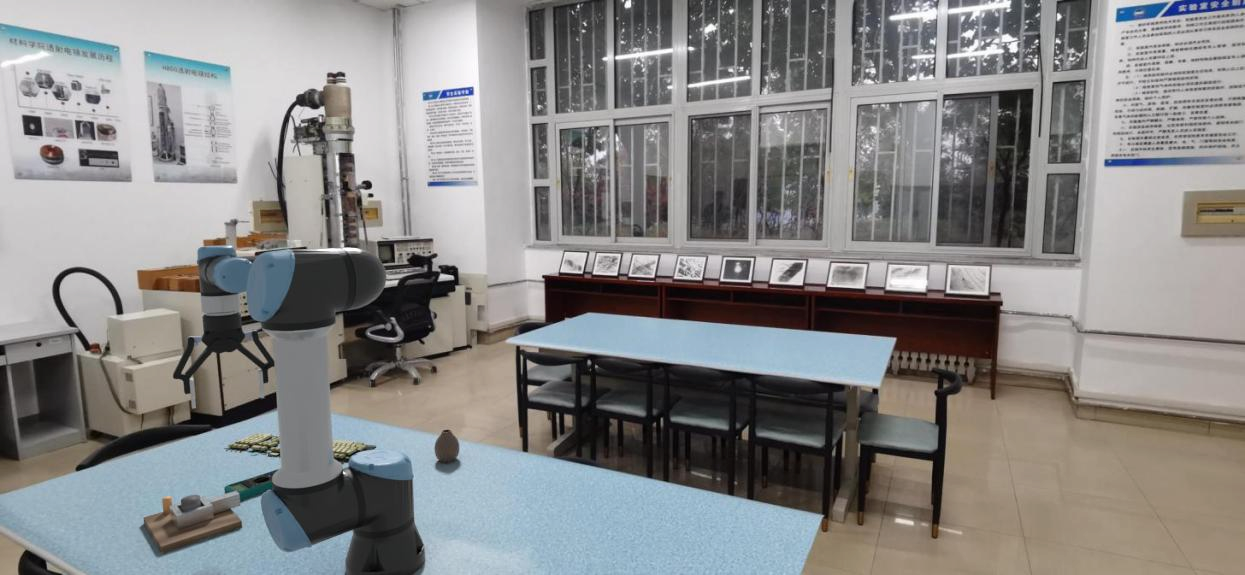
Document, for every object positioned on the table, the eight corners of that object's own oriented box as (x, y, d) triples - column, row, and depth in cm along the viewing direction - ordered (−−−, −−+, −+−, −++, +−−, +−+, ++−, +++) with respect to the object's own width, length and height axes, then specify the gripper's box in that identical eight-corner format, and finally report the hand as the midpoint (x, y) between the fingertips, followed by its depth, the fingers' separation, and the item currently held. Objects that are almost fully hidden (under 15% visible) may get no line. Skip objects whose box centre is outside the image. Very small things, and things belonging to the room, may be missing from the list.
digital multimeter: (297, 483, 166) (296, 472, 166) (235, 504, 154) (235, 492, 154) (283, 476, 170) (283, 465, 170) (223, 496, 158) (222, 485, 158)
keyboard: (377, 449, 190) (376, 441, 189) (344, 470, 176) (344, 461, 175) (253, 436, 200) (253, 428, 200) (214, 454, 186) (213, 446, 186)
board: (242, 526, 142) (239, 499, 141) (161, 553, 131) (158, 524, 131) (219, 501, 154) (217, 476, 154) (144, 523, 144) (141, 496, 143)
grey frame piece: (177, 529, 138) (176, 516, 138) (170, 518, 143) (169, 506, 142) (243, 508, 147) (242, 496, 147) (234, 499, 152) (233, 487, 151)
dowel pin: (173, 512, 146) (172, 497, 146) (164, 514, 145) (163, 500, 144) (171, 509, 147) (170, 495, 147) (162, 512, 146) (161, 497, 146)
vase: (433, 457, 182) (432, 428, 181) (457, 453, 185) (456, 425, 184) (436, 466, 176) (435, 436, 174) (461, 462, 178) (460, 432, 177)
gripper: (280, 305, 155) (286, 389, 157) (155, 315, 141) (163, 406, 143) (284, 309, 149) (290, 396, 151) (153, 320, 134) (162, 415, 137)
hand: (228, 401), depth 147 cm, fingers open, 13 cm apart
